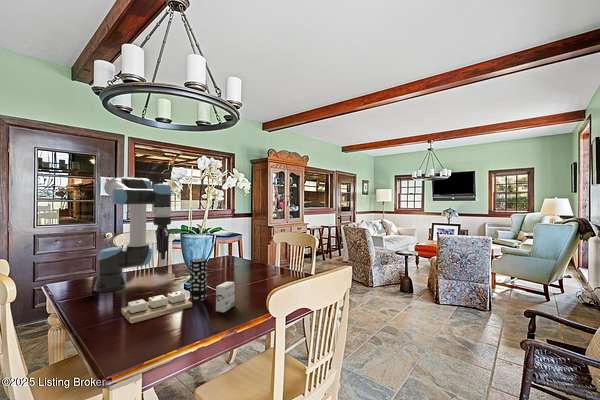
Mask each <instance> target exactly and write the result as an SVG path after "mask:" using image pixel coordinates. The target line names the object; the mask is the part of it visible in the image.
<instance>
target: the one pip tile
mask: <svg viewBox="0 0 600 400" xmlns="http://www.w3.org/2000/svg"><path fill="white" fill-rule="evenodd" d="M147 302H148V301H145V300H144V299H136V300H132V301H129V302H127V307H128V310H129V311H130V312H131V314H136V313H140V312H144V310H147Z"/></svg>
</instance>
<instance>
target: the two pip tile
mask: <svg viewBox="0 0 600 400" xmlns="http://www.w3.org/2000/svg"><path fill="white" fill-rule="evenodd" d="M148 302H149V305H150V306H151V307H152V308H151V309H156V308H160V307H164V306H163V305H167V297H166V296H165V295H163V294H161V295H156V296H155V295H154V296H152V297H151V296H150V297H148Z"/></svg>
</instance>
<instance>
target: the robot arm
mask: <svg viewBox="0 0 600 400" xmlns="http://www.w3.org/2000/svg"><path fill="white" fill-rule="evenodd" d="M171 187H172V186H171V185H170V184H166V183H155V184H153V185H152V182H151V180H150V179H148V178H143V177H125V176H123V177H122V176H119V177H114V178H111V179H109V180H107V181H106V182H105V184H104V188H103V189H104V191H105V193H106V194H107V195H108V196H110V197H111V201H112V203H113V204H114V205H120V206H121V205H129V206H130V207H129V210H130V211H129V242H128V243H127V244H126V248H123V246H113V247H107V248H104V249H101V250H99V252H98V257H97V260H98V269H97V273H98V275H97V279H96V281H95V284H94V287H93V291H94V292H95V291H96V292H95V293H110V292H109V291H111V292H115V291H116V292H117V291H120V290H122V289H125V288H126V287H127V283H126V278H125V277H124V273H123V269H130V268H137V267H143V266H147V265H149V264H150V262H151V260H152V257H153V251H152V250H153V249H152V247H151V245H149V243H148V242H147V205H153V209H152V212H153V218H152V219H153V221H152V222H153V225H154V226H157V228H156V230H155V240H156V251H158V267H160V268H161V267H165V266H166V265H167V259H166V258H167V252H168V251H169V250H168V249H169V240H170V234H171V233H170V231H169V229H168V225H171V224H172V218H171V216H172V188H171Z"/></svg>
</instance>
